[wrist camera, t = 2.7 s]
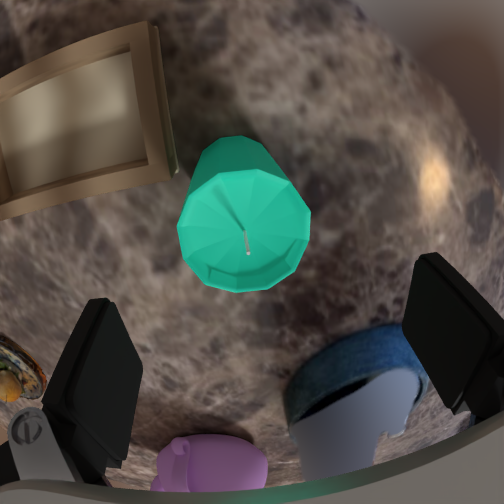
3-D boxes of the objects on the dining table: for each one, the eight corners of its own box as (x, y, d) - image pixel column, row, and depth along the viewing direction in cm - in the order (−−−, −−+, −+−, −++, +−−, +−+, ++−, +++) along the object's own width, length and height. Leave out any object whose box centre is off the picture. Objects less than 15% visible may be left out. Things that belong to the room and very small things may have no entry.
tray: (14, 209, 22) (-9, 227, 18) (-12, 94, 16) (-39, 99, 13) (179, 170, 22) (171, 184, 19) (158, 27, 17) (146, 16, 13)
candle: (241, 226, 25) (257, 332, 14) (178, 182, 23) (143, 266, 12) (291, 168, 23) (351, 240, 12) (228, 118, 21) (236, 144, 10)
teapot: (105, 430, 39) (92, 506, 27) (232, 406, 37) (239, 504, 24) (178, 478, 49) (178, 536, 37) (282, 460, 47) (294, 525, 35)
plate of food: (-30, 322, 27) (-55, 360, 21) (35, 343, 30) (12, 389, 23) (-4, 379, 33) (-21, 414, 26) (56, 399, 35) (43, 440, 28)
